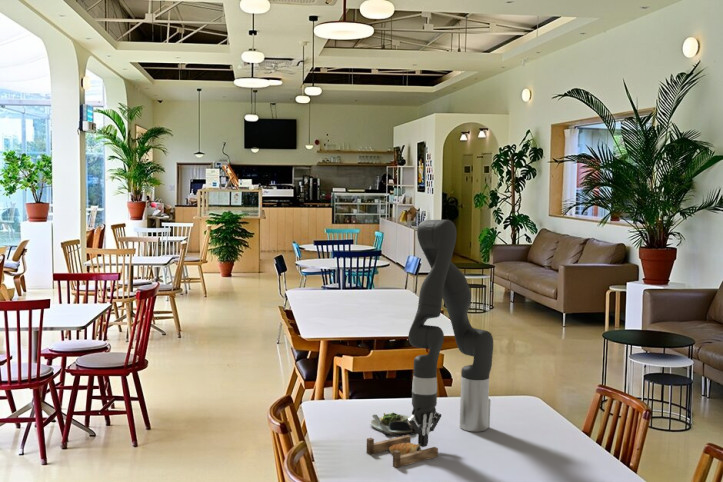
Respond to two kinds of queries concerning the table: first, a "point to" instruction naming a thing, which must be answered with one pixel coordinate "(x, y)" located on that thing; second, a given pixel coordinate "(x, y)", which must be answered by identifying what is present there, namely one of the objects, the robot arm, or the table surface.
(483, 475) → the table surface
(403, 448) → the pastry
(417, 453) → the pair of wooden bars
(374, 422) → the salad plate
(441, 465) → the table surface
